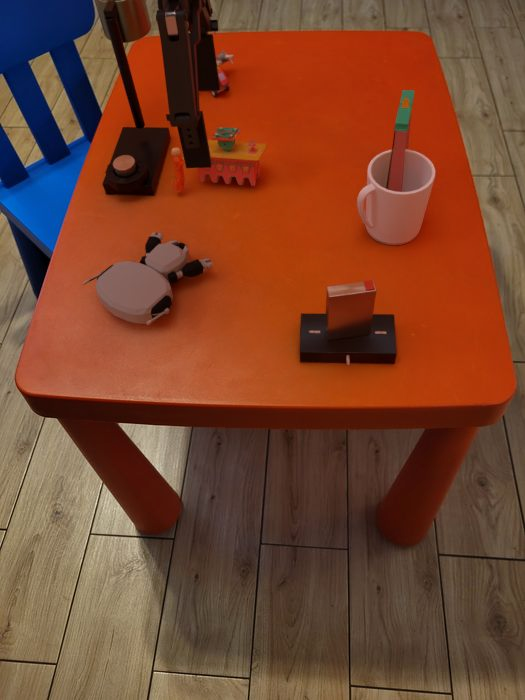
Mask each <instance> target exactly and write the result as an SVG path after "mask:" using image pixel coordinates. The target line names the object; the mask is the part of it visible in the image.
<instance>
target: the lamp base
mask: <svg viewBox="0 0 525 700" xmlns="http://www.w3.org/2000/svg"><path fill="white" fill-rule="evenodd" d="M171 139H172V137H171V132H170V128H169V127H165V126H164V127H162V126H161V127H158V126H154V127H153V126H144V127H143V128H140V129H139V128H136V126H123V127H122V128H121V131H120V133H119V137H118V138H117V142H116V145H115V148H114V150H113V153H112V156H111V159H110V162H109V164H107V166H106V170H105V172H104V173H105V176H104V178H103V181H102V187H103V190H104V192H105V195H108V196H109V195H112V196H113V195H114V196H148V197H154V196H155V195H156V192H157V189H158V184H159V180H160V178H161V174H162V171H163V168H164V164H165V160H166V157H167V154H168V150H169V147H170V143H171ZM122 155H129V156H132V157H133V158H134V160H135V163H136V166H137V173H136V174H134V175H133V176H131V177H128V178H119V177H118V176H117V175H116V173H115V170H114V167H113V162H114V160H115V159H116V158H117V157H119V156H122Z"/></svg>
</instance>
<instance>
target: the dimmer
mask: <svg viewBox="0 0 525 700" xmlns="http://www.w3.org/2000/svg"><path fill="white" fill-rule="evenodd" d="M325 322H326V313H300V328H299V329H300V331H299V363H318V364H319V363H321V364H322V363H323V364H324V363H325V364H326V363H327V364H346V366H350V365H351V364H374V365H375V364H377V365H378V364H380V365H381V364H382V365H383V364H384V365H395V363H396V359H397V354H398V350H397V349H398V348H397V336H396V334H397V333H396V322H395V314H392V313H391V314H390V313H386V314H385V313H373V318H372V325H371V332H370V335H364V336H356V337H349V338H341V339H334V340H327V337H326V332H325Z"/></svg>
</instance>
